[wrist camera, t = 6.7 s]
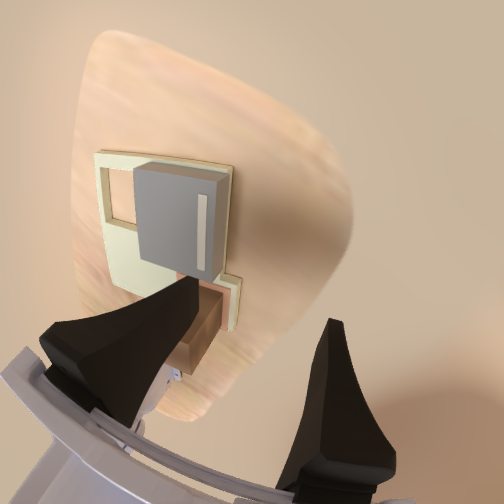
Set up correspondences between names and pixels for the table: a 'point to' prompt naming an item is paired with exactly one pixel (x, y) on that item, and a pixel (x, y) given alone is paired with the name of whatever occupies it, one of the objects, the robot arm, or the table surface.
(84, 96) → the table surface
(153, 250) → the sliding cover
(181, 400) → the table surface
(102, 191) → the puzzle board
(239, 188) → the table surface
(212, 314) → the walnut block
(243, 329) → the table surface
